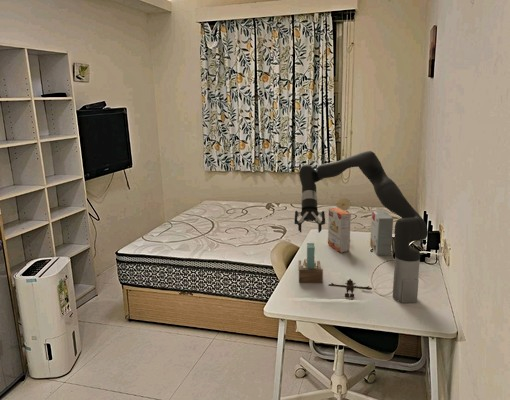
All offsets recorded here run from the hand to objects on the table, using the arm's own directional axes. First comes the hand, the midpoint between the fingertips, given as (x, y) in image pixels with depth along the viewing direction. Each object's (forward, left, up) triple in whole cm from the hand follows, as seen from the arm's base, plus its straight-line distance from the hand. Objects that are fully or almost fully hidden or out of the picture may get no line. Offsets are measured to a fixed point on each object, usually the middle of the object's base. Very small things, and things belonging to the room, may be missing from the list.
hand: (309, 231), depth 197 cm
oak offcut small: (-3, 0, -15) cm, 15 cm away
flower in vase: (+42, -27, -19) cm, 53 cm away
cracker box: (+28, -22, -19) cm, 40 cm away
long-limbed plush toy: (-25, -12, -19) cm, 34 cm away
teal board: (-11, +2, -18) cm, 21 cm away
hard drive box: (+22, -43, -19) cm, 52 cm away
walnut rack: (-7, +1, -19) cm, 20 cm away
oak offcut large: (-3, 0, -18) cm, 18 cm away
